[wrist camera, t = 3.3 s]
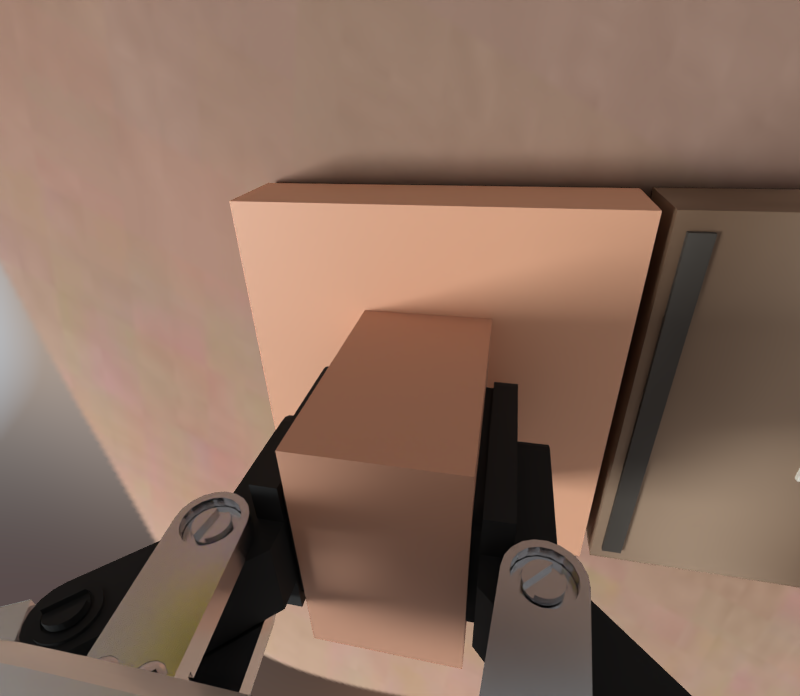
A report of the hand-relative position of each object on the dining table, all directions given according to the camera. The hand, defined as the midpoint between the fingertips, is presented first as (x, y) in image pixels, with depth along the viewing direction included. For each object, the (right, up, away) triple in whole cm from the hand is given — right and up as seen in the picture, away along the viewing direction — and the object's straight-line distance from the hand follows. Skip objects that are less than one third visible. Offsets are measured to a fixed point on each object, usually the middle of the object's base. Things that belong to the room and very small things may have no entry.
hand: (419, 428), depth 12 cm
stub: (+1, +2, +3) cm, 3 cm away
